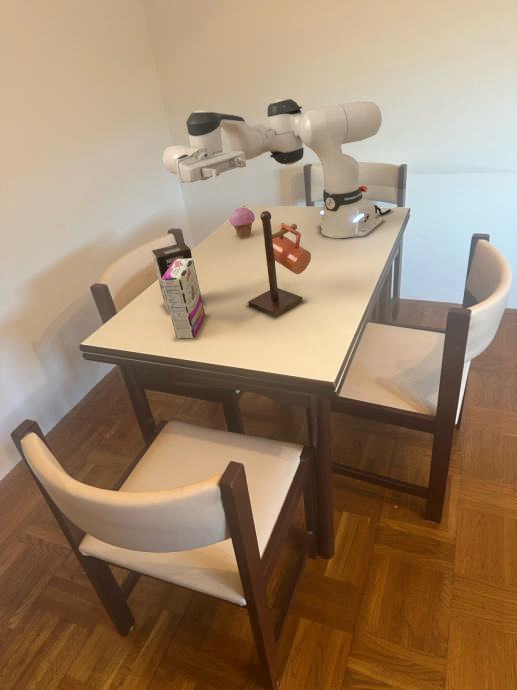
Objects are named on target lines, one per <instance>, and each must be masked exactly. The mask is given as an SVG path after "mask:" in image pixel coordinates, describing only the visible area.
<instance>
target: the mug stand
mask: <svg viewBox="0 0 517 690" xmlns="http://www.w3.org/2000/svg"><path fill="white" fill-rule="evenodd" d="M259 216H260V220H261V223H262V234H263V240H264V241H263V242H264V251H265V259H266V268H267V276H268V285H269V286H268V287H269V290H266V291H265V292H263V293H261V294H259V295H258V296H256V297H253V298H252V299H250V300H248V301H247V304H248V307H249V308H252V309H254V310H256V311H258V312H261V313H263V314H265V315H268V316H271V317H273V318H277V317H279V316H281V315H282V314H284V313H286V312H287V311H289V310H290V309H293V308H294V307H296V306H298V305H300V304H301V303H303V296H300V295H298V294H294V293H292V292H290V291H288V290H285V289H282V288H279V287H278V280H277V269H276V261H275V259H274V249H273V239H275V238H277V237H279V236H281V235H283V234H284V235H285V234H288V233H290V232H289V231H288V230H286V229H283V230H281V231H280V230H279V231H277V232H275V233H273V232H272V231H273V230H272V223H271V219H272V214H271V212H270V211H268V210H264V211H262V212H261V213H260V215H259ZM289 227H291V228H292V229H294V230H296V231H297V229H298V225H297V224H296V223H292V224H291V225H289ZM284 235H283V236H284Z"/></svg>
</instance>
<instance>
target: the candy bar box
mask: <svg viewBox="0 0 517 690" xmlns="http://www.w3.org/2000/svg"><path fill="white" fill-rule="evenodd" d="M161 282H162V285H163V289H164V293H165V297H166V301H167V304H168V307H169V311H170V313H169V314H170V320H171V322H172V326H173V331H174V333H175V337H176V339H178V340H184V339H187V340H189V339H191V340H192V339H195V338H196V336H197V334H198V332H199V330H200V328H201V326H202V324H203V321H204V319H205V318H206V316H207V315H206V312H205V307H204V303H203V297H202V294H201V288H200V284H199V280H198V275H197V269H196V267H195V261H194V258H193V257H192V258H183V259H175V260H174V261H173V263H172V264H171V266H170V267H169V269H168V270H167V271H166V273H165V274H164V276H163V277H162V279H161ZM169 311H168V312H169Z"/></svg>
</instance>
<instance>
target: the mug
mask: <svg viewBox="0 0 517 690" xmlns="http://www.w3.org/2000/svg"><path fill="white" fill-rule="evenodd" d="M279 229H280V230H279V231H281V230H283V229H286V230H288V231H289V232H288V233H291V234H293V235H294V236H296V237H295V241H293V240H291V239H290V238H288V237H286V236H285V234H283V235H281V236H279V237H277V238H275V239H273V249H274V259H275V262H276V263H278V264H280V265H281V266H283V267H284V268H286V269H287V270H289V271H290V272H292V273H293V274H295V275H300V274H302V273H304V271H306V269H307V268H308V267H309V264H310V263H311V259H312V254H311V252H310V251H309V250H307V249H306V248H304V247H303V246H301V245H300V244H301V243H300V242H301V237H302V234H301V233H300V232H299V231H298V230H297V229H296V230H294V229H292V228H291V227H290V225H287V224H286V223H285V222H282V223H281V224H280V228H279Z"/></svg>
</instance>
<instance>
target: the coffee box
mask: <svg viewBox="0 0 517 690" xmlns="http://www.w3.org/2000/svg"><path fill="white" fill-rule="evenodd" d="M151 253H152V257H153V262H154V266H155V271H156V275H157V279H158V284H159V287H160V292H161V296H162V301H163V304H164V307H165V308H166V310H167V311H168V313H169V314H170V311H169V307H168V304H167V301H166V297H165V293H164V289H163V285H162V282H161V279H162V277H163V276H164V274H165V273H166V271H167V270H168V269H169V267H170V266H171V264H172V263H173V261H174V260H175V259H183V258H193V256H192V251H191V248H190V247H189V246H188V245H187V244H186V243H185V242H181V243H176V244H173V245H168V246H165V247H160V248H157V249H152V250H151Z"/></svg>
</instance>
